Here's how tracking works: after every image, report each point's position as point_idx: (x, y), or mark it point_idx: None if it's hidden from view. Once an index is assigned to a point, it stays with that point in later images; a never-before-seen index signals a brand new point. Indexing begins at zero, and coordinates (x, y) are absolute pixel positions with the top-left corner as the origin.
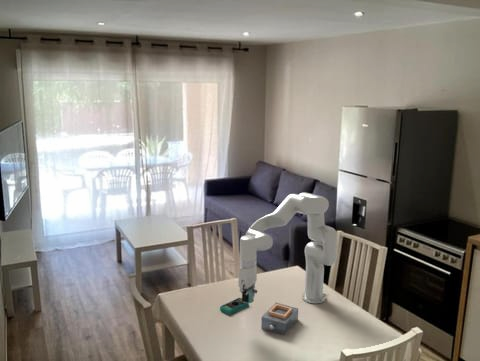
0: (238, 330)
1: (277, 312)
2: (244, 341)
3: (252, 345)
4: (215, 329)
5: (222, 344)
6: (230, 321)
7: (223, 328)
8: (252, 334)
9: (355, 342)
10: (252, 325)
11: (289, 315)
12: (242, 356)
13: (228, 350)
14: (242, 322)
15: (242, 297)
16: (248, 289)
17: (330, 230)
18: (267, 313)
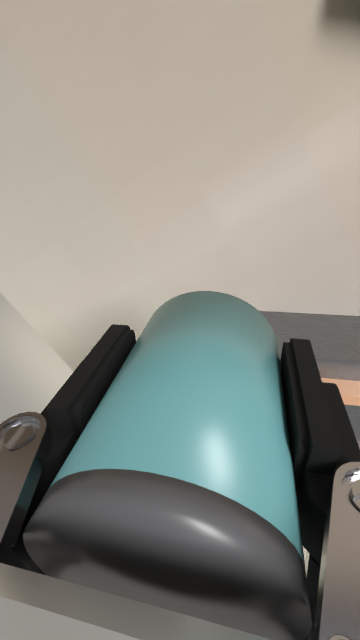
0: (172, 207)
1: (358, 413)
2: (108, 285)
3: (107, 326)
4: (89, 42)
5: (16, 202)
6: (246, 78)
7: (135, 95)
8: (181, 293)
9: (305, 553)
10: (265, 255)
11: None
12: (27, 321)
13: (9, 255)
14: (272, 178)
15: (92, 357)
16: (65, 579)
17: None
18: (320, 369)
